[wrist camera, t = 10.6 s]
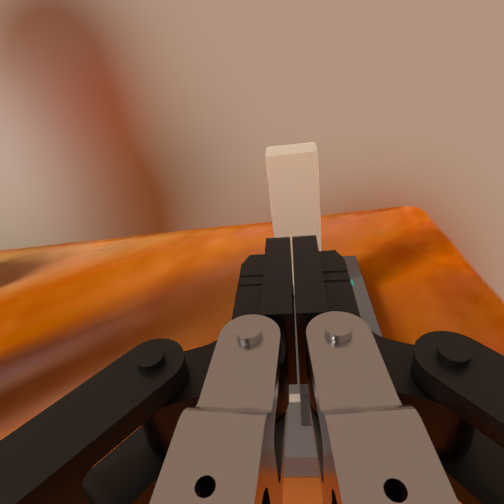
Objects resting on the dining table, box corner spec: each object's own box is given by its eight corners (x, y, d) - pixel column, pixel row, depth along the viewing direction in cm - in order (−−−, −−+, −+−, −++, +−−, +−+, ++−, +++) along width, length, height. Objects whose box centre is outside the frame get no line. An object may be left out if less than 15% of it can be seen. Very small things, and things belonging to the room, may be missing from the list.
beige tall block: (274, 296, 34) (258, 159, 28) (275, 273, 37) (261, 146, 31) (329, 293, 33) (325, 152, 27) (324, 269, 37) (320, 139, 30)
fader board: (217, 476, 23) (211, 456, 22) (247, 278, 42) (245, 262, 41) (419, 477, 21) (423, 456, 20) (355, 271, 40) (355, 254, 39)
